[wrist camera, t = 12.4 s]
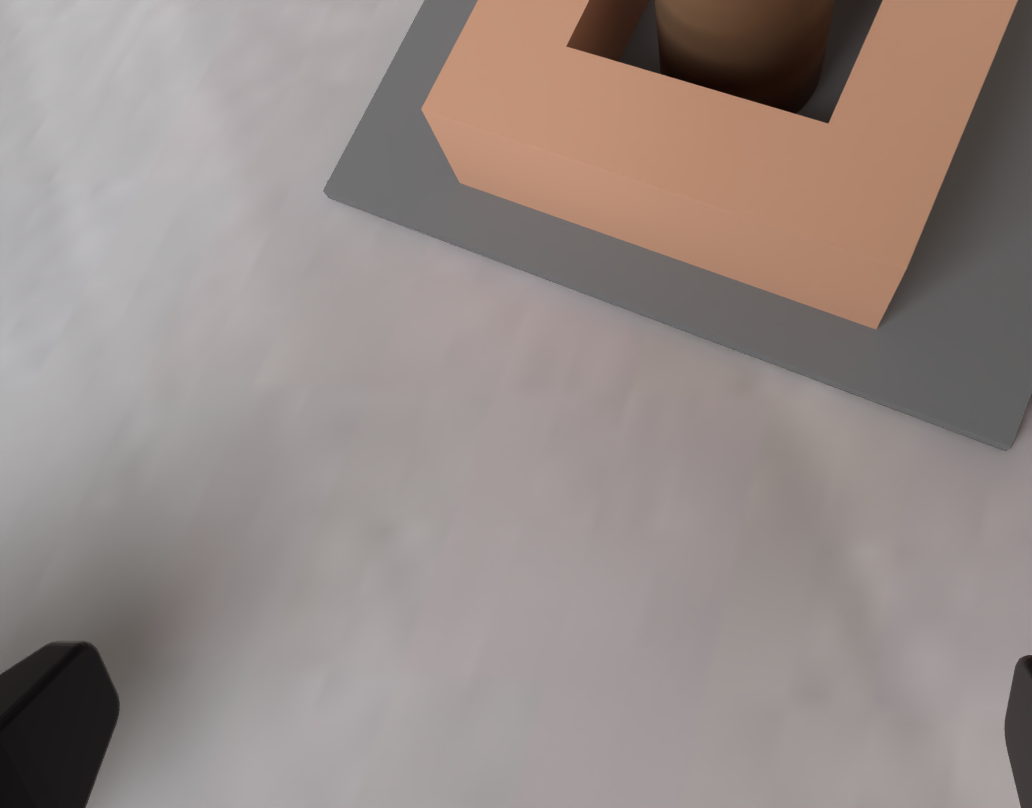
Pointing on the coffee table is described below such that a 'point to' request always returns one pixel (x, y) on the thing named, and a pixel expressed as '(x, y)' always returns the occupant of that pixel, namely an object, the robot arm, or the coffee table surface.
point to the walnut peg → (746, 47)
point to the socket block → (719, 143)
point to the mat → (738, 306)
